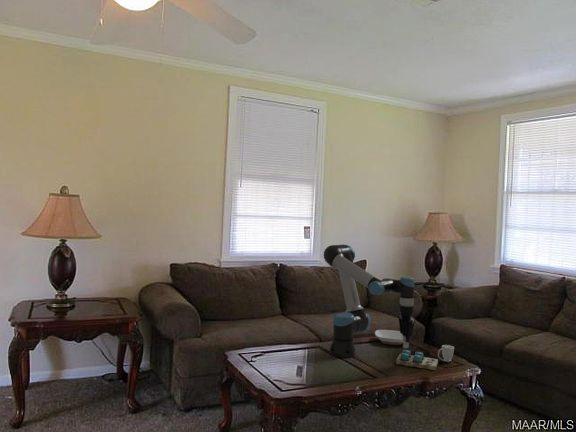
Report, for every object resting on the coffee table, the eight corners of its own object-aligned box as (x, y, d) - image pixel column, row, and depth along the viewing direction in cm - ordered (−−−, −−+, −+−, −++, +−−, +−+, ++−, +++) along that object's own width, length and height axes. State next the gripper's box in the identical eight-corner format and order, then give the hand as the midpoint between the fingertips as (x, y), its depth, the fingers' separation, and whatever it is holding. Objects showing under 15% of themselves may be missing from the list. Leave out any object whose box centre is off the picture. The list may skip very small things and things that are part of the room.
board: (396, 363, 261) (396, 359, 261) (400, 357, 274) (400, 352, 273) (435, 370, 253) (435, 365, 252) (437, 362, 265) (438, 358, 265)
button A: (399, 360, 261) (400, 354, 261) (401, 357, 265) (401, 352, 265) (407, 361, 260) (408, 355, 260) (409, 359, 264) (409, 353, 264)
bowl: (374, 345, 296) (374, 337, 296) (374, 336, 318) (374, 328, 318) (409, 348, 293) (410, 339, 293) (407, 339, 314) (407, 331, 314)
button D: (414, 358, 265) (414, 353, 265) (415, 356, 269) (415, 351, 269) (422, 359, 263) (422, 354, 263) (423, 357, 267) (423, 352, 267)
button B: (401, 356, 267) (402, 351, 267) (403, 354, 271) (403, 349, 271) (409, 358, 266) (409, 352, 266) (410, 355, 270) (411, 350, 270)
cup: (456, 362, 268) (457, 348, 268) (441, 363, 265) (442, 349, 265) (448, 358, 275) (449, 344, 274) (434, 359, 271) (434, 345, 271)
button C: (412, 362, 259) (413, 356, 259) (413, 359, 263) (414, 354, 263) (421, 363, 257) (421, 357, 257) (422, 361, 261) (422, 355, 261)
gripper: (419, 307, 258) (418, 350, 257) (405, 302, 270) (404, 344, 270) (408, 307, 255) (407, 351, 255) (394, 303, 267) (393, 345, 267)
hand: (405, 347), depth 262 cm, fingers closed
